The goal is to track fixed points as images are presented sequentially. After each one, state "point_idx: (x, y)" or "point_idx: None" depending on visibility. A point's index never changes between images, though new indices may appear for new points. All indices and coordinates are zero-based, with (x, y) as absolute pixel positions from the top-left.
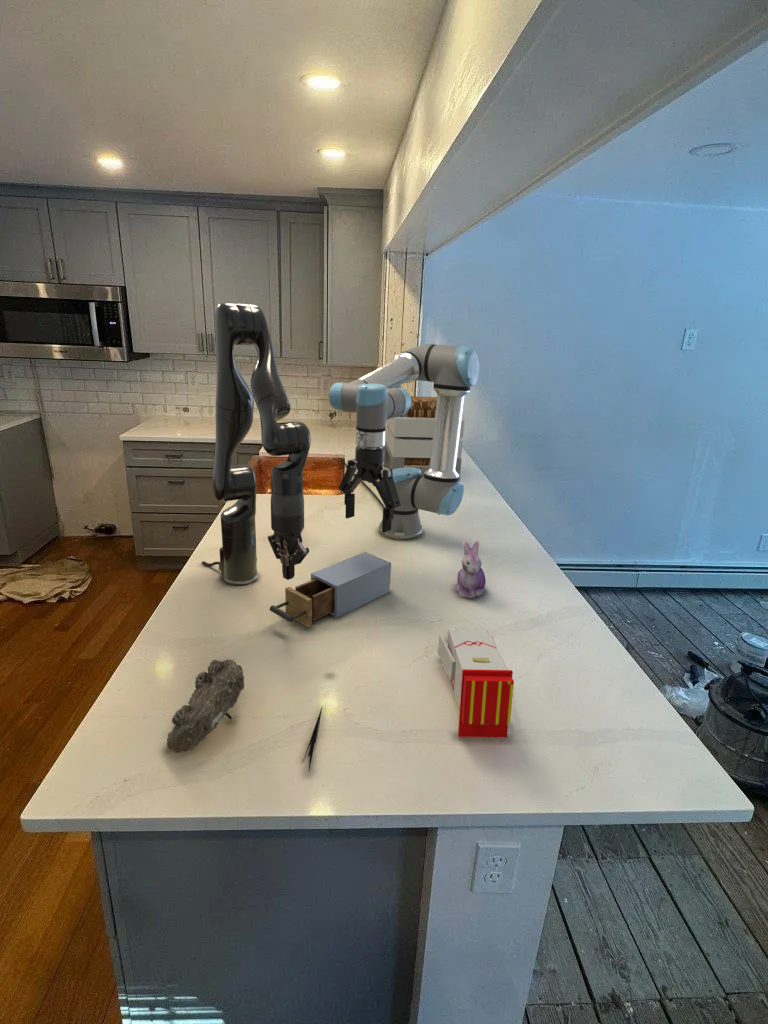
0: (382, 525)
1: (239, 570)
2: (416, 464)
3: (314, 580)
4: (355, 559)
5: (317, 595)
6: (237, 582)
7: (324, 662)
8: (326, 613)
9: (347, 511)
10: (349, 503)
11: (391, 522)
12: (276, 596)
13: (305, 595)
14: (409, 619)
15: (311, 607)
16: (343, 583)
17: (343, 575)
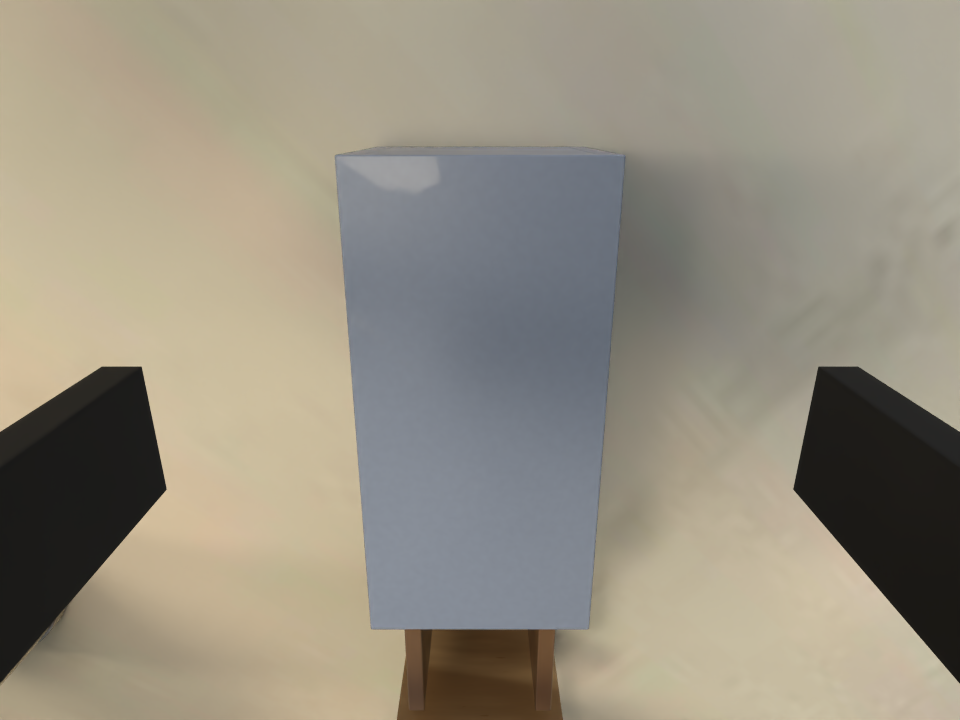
0: (840, 541)
1: (9, 674)
2: None
3: None
4: (396, 320)
5: (551, 694)
6: (47, 633)
7: (733, 705)
8: None
9: (109, 552)
10: (16, 612)
11: (932, 415)
12: (243, 569)
13: None
14: (835, 300)
15: (559, 698)
16: (591, 588)
17: (521, 531)
